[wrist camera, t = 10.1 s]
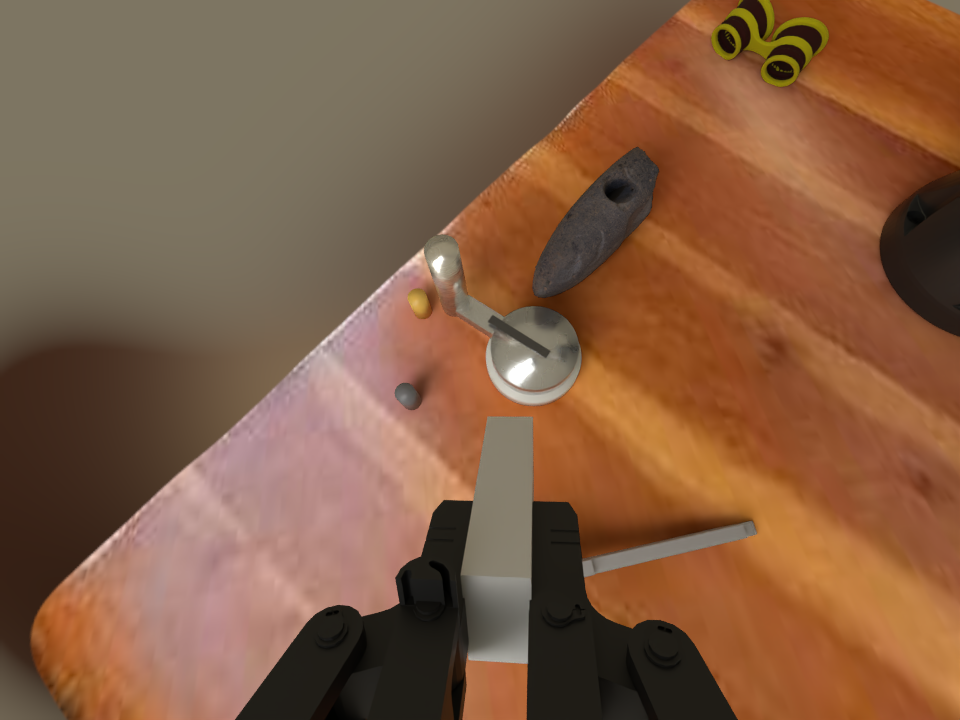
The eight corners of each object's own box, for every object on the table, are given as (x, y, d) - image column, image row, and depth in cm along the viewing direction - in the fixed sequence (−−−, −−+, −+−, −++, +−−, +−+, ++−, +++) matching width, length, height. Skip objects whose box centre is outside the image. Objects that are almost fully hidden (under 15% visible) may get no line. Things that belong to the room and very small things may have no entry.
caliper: (494, 589, 38) (490, 603, 32) (491, 574, 38) (486, 585, 32) (755, 534, 38) (800, 537, 32) (749, 519, 38) (793, 519, 32)
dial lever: (592, 343, 41) (613, 294, 32) (545, 411, 39) (554, 380, 31) (468, 268, 44) (457, 205, 35) (421, 329, 42) (396, 279, 33)
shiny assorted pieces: (542, 264, 46) (543, 247, 43) (593, 388, 42) (599, 379, 39) (379, 316, 45) (369, 303, 42) (415, 448, 41) (408, 443, 38)
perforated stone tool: (554, 324, 44) (561, 289, 37) (510, 288, 45) (509, 248, 39) (659, 215, 46) (683, 164, 40) (615, 184, 48) (631, 130, 41)
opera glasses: (702, 56, 53) (714, 17, 48) (734, 19, 53) (749, -24, 48) (782, 101, 51) (803, 65, 46) (815, 62, 50) (840, 21, 46)
